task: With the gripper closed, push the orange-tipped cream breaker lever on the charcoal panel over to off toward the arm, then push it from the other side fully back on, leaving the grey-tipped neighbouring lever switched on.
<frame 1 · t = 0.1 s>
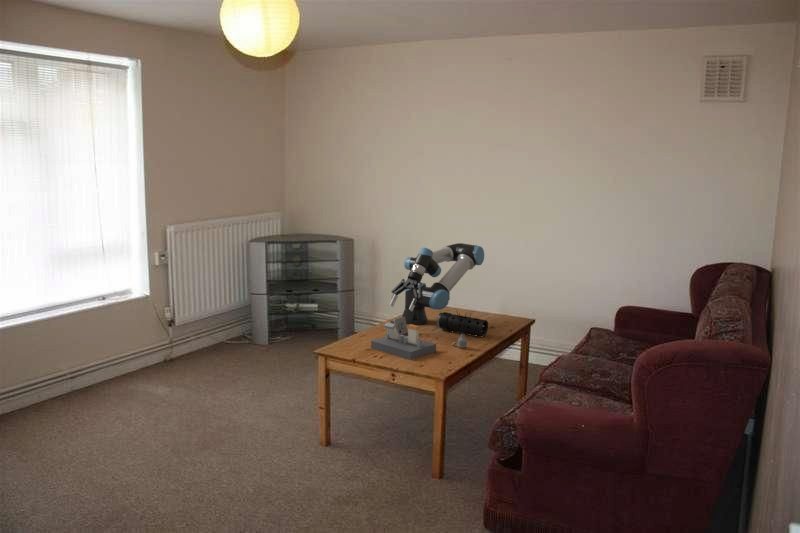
hand: (400, 307, 360), 15 cm above the table, tool tilted 35°, fingers open, 13 cm apart
reed diffuser: (460, 348, 343), on the table
electrical switch: (398, 334, 366), on the table
breaker panel: (403, 349, 337), on the table
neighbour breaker: (392, 331, 337), point 9 cm above the table, hinge at 30.0°
muzzle brake: (461, 334, 372), on the table
tripped breaker: (413, 334, 331), point 9 cm above the table, hinge at 0.0°
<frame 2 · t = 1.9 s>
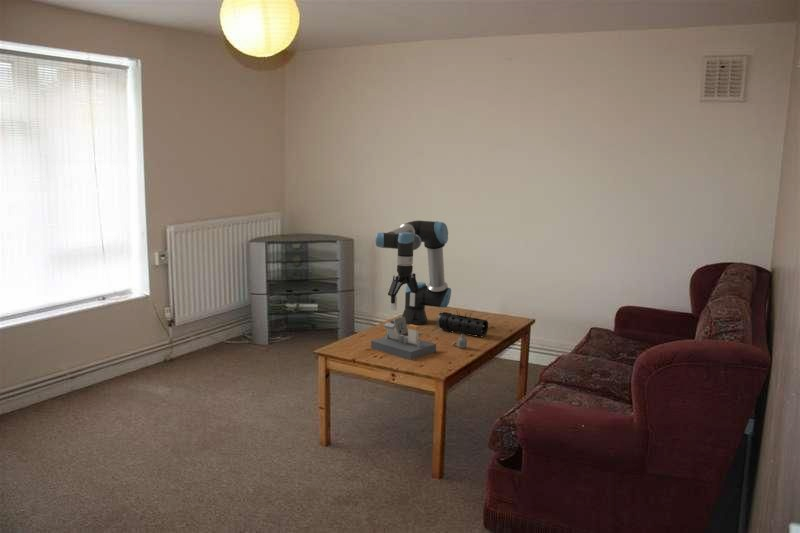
hand: (403, 307, 323), 24 cm above the table, tool pointing down, fingers open, 13 cm apart
nothing on the table moved.
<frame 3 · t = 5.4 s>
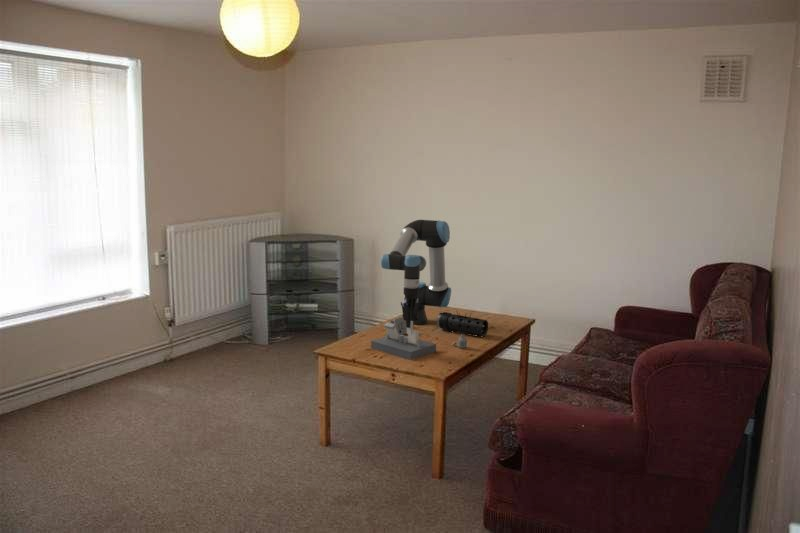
hand: (409, 333, 329), 10 cm above the table, tool pointing down, fingers closed
tripped breaker: (413, 334, 331), point 9 cm above the table, hinge at -0.5°, touching gripper
everything else where it was.
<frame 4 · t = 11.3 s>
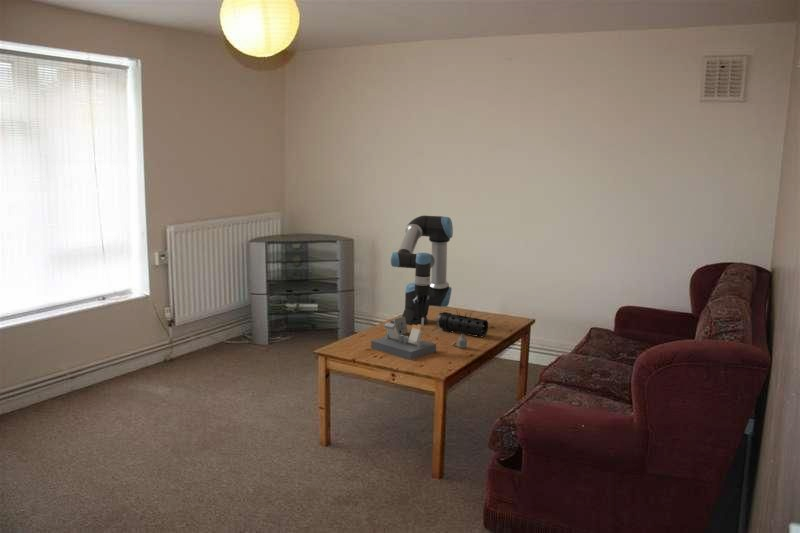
hand: (420, 330, 335), 11 cm above the table, tool pointing down, fingers closed
tripped breaker: (415, 335, 333), point 9 cm above the table, hinge at -26.4°, touching gripper
everything else where it was.
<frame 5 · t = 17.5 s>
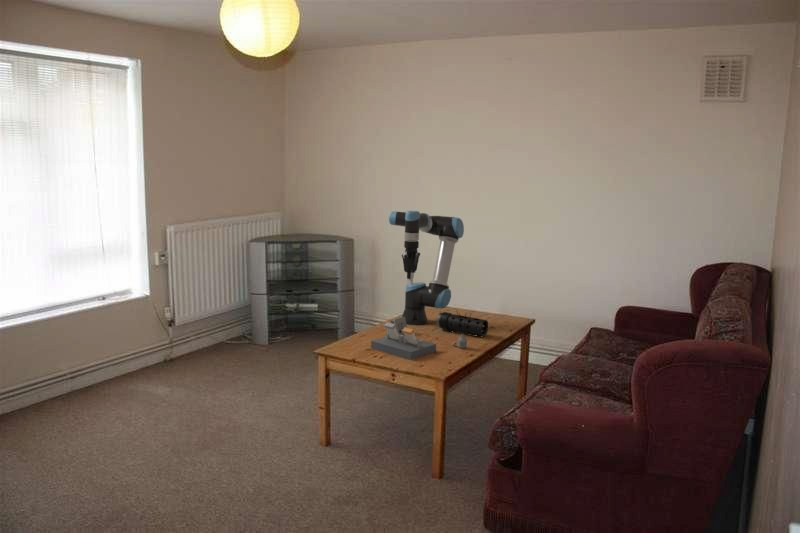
hand: (409, 284, 353), 29 cm above the table, tool pointing down, fingers closed
tripped breaker: (410, 336, 330), point 9 cm above the table, hinge at 32.2°
everything else where it was.
at the end: tripped breaker at +32° (first picture: +0°); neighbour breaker at +30° (first picture: +30°) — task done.
